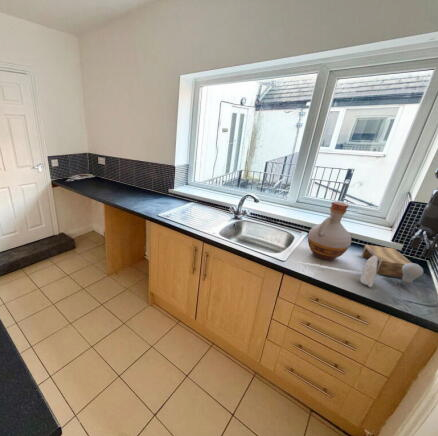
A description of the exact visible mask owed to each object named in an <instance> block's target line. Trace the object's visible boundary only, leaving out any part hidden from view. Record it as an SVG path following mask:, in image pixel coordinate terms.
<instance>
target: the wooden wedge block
mask: <svg viewBox="0 0 438 436" xmlns="http://www.w3.org/2000/svg"><path fill="white" fill-rule="evenodd" d="M363 247H364V248H363V250H362V252H361V257H362V258H367V259H369V258H371V257H372V256H375V257H377V259H378V264H377V268H376V274H378V275H384V276H388V277H389V276H390V277H395V278H400V279H402V278H403V272H402V267H403V266H404V265H405V264H407V263H413V262H412V261H411V260H409V259H408V258H407V257H406V256H404V255H403V254H402V253H401V252H400V251H398V250H397V249H396V248H394V247H387V246H386V247H385V246H378V245H372V244H365V245H364V246H363Z"/></svg>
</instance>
